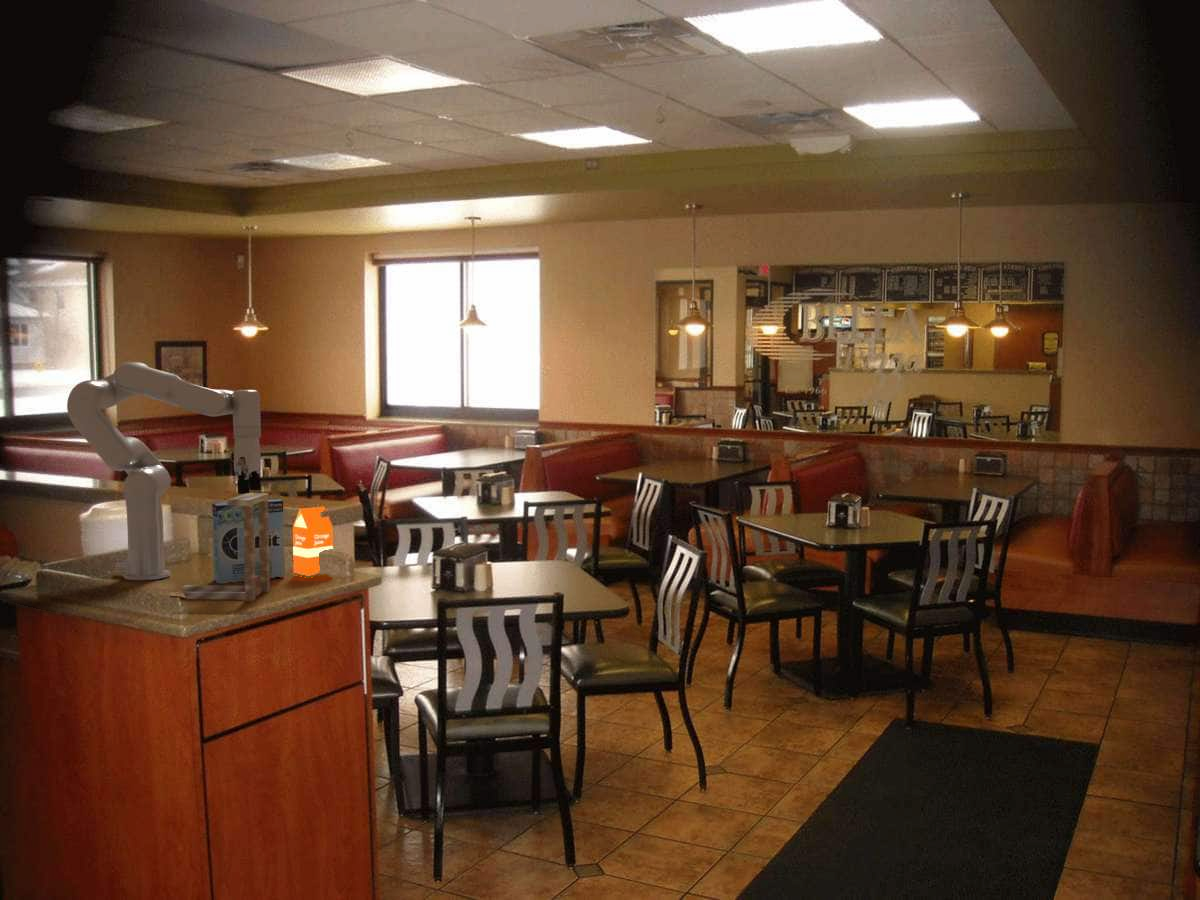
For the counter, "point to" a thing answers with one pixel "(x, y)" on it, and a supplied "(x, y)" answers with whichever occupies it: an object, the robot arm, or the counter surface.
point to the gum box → (232, 541)
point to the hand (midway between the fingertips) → (249, 491)
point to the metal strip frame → (252, 582)
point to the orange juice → (310, 540)
